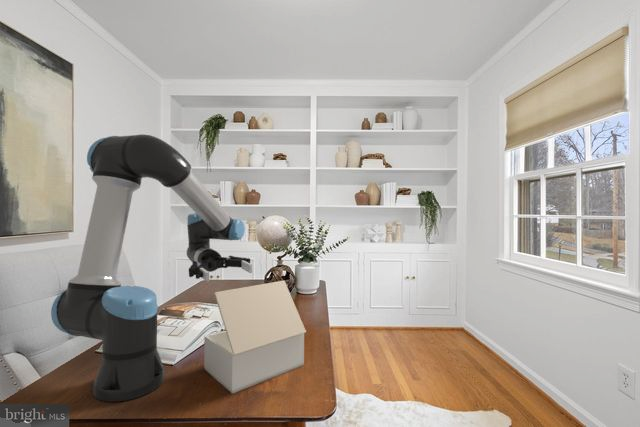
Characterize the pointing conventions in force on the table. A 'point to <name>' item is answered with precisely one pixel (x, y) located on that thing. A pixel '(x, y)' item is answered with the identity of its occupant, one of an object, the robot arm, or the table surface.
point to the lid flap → (258, 315)
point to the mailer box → (250, 360)
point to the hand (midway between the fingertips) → (230, 272)
